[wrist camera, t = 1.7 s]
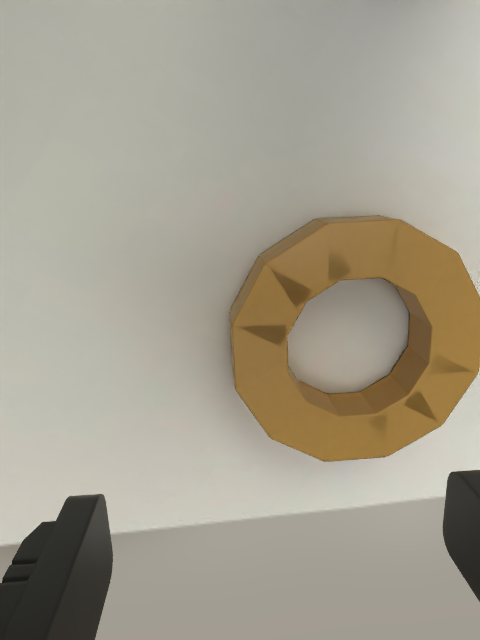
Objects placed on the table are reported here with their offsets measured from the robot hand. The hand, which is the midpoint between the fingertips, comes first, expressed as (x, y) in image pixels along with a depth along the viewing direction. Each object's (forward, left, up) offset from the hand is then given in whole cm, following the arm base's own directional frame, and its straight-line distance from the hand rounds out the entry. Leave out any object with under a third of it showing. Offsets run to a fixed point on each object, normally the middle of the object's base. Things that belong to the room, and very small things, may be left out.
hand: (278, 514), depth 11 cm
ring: (0, +5, -12) cm, 13 cm away
